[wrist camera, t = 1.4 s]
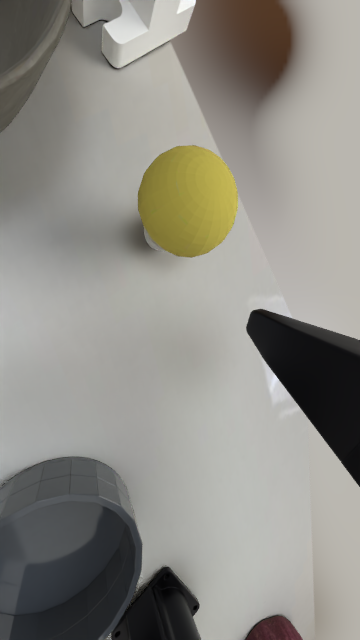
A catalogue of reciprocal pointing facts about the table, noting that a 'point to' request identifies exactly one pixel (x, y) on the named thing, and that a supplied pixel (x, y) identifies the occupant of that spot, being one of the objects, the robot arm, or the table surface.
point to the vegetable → (274, 630)
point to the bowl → (26, 48)
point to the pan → (66, 551)
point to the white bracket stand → (134, 24)
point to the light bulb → (187, 201)
